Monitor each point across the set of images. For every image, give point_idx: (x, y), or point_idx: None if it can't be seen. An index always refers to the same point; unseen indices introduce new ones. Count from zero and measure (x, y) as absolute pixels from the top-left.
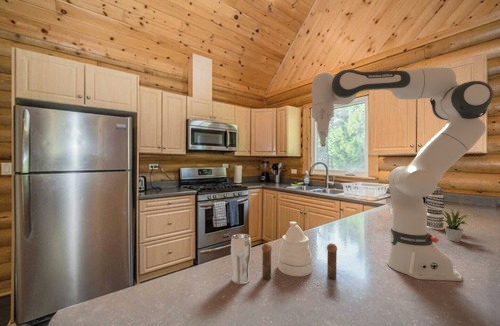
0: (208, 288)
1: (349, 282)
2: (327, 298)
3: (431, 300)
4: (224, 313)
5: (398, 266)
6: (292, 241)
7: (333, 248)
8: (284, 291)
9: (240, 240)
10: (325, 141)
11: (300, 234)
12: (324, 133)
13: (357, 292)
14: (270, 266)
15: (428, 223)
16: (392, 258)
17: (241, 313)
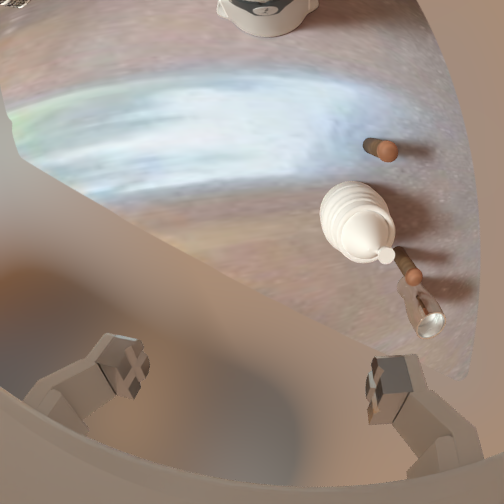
0: None
1: (378, 116)
2: (433, 158)
3: (385, 13)
4: (470, 275)
5: (296, 21)
6: (393, 238)
7: (397, 149)
8: (428, 220)
9: (445, 320)
10: (86, 369)
11: (382, 227)
12: (475, 452)
13: (405, 110)
14: (407, 255)
15: (21, 1)
16: (280, 25)
17: (470, 259)
